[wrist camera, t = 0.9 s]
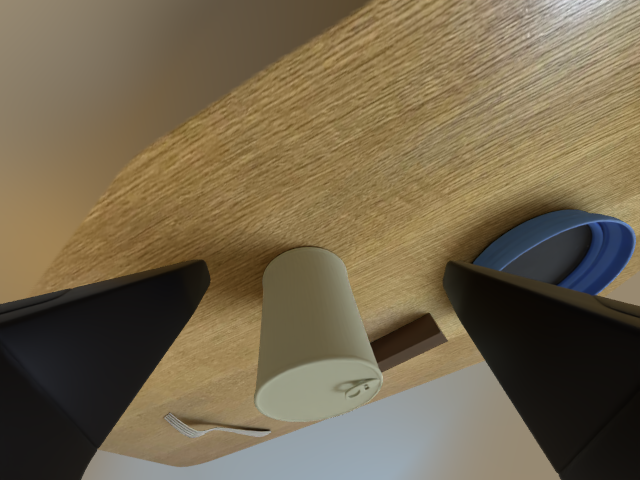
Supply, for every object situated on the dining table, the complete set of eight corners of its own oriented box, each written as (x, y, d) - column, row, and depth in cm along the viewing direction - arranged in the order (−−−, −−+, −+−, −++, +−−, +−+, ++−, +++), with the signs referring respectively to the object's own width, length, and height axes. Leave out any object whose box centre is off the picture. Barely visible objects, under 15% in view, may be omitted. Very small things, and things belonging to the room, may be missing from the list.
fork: (264, 421, 51) (264, 437, 49) (162, 418, 39) (157, 439, 37) (272, 416, 50) (273, 432, 48) (171, 411, 38) (166, 432, 36)
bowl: (428, 283, 29) (444, 306, 26) (579, 169, 23) (622, 183, 20) (489, 327, 38) (507, 348, 35) (613, 253, 31) (647, 271, 28)
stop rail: (324, 366, 37) (327, 387, 35) (429, 312, 33) (441, 332, 30) (334, 373, 39) (338, 393, 36) (436, 322, 35) (448, 341, 32)
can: (351, 296, 29) (389, 411, 19) (278, 315, 29) (277, 439, 19) (339, 236, 23) (383, 352, 14) (249, 259, 23) (227, 391, 14)
